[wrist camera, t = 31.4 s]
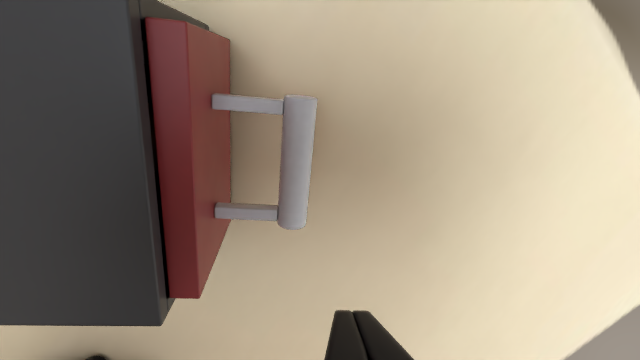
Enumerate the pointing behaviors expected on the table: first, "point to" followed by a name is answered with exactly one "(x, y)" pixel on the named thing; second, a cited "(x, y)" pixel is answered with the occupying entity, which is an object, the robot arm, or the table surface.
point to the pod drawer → (211, 149)
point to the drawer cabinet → (78, 165)
